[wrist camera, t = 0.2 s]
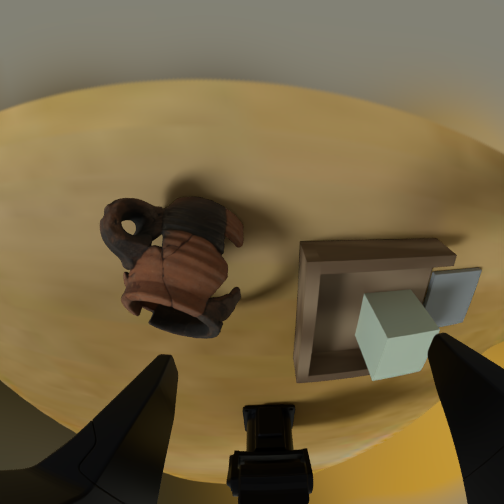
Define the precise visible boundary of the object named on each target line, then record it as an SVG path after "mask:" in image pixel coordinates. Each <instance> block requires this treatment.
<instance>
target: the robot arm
mask: <svg viewBox="0 0 504 504" xmlns="http://www.w3.org/2000/svg"><path fill="white" fill-rule="evenodd" d="M428 360H429V363H430V367H431V370H432V374H433V378H434V382H435V385H436V389H437V392H438V395H439V398H440V401H441V404H442V407H443V409H444V413H445V416H446V418H447V422H448V425H449V428H450V432H451V435H452V438H453V442H454V445H455V449H456V453H457V456H458V460H459V464H460V468H461V473H462V477H463V482H464V487H465V492H466V497H467V503H468V504H504V369H503V368H501V367H500V366H498V365H497V364H495V363H494V362H492V361H490V360H489V359H487V358H486V357H484V356H482V355H481V354H479V353H478V352H476V351H474V350H473V349H471V348H470V347H468V346H466V345H465V344H463V343H461V342H460V341H458V340H457V339H455V338H453V337H452V336H450V335H448V334H447V333H439V334H436V335H435V336H434V337H433V340H432V342H431V344H430V347H429V349H428ZM177 383H178V371H177V368H176V365H175V362H174V359H173V357H172V355H165V354H160V355H158V356H157V357H156V358H155V359H154V360H153V361H152V362H151V363H150V364H149V365H148V366H147V367H146V368H145V369H144V370H143V371H142V372H141V373H140V374H139V375H138V376H137V377H136V378H135V379H134V380H133V381H132V382H131V383H130V384H129V385H128V386H126V387H125V388H124V389H123V390H122V391H121V392H120V393H119V394H118V395H117V396H116V397H115V398H114V399H113V400H112V401H111V402H110V403H109V404H108V405H107V406H106V407H105V408H104V409H103V410H102V411H101V412H100V413H99V414H98V415H97V416H96V417H95V418H94V419H93V421H90V422H89V423H88V424H87V425H86V426H85V427H84V428H83V429H82V430H81V431H80V432H79V433H77V434H76V435H75V436H74V437H73V438H72V439H70V440H69V441H68V442H67V443H65V444H64V445H63V446H61V447H60V448H59V449H57V450H56V451H55V452H54V453H52V454H51V455H49V456H48V457H47V458H45V459H44V460H43V461H41V462H40V463H38V464H37V465H34V466H32V467H29V468H25V469H16V470H2V471H0V504H157V500H158V495H159V489H160V484H161V478H162V474H163V468H164V463H165V458H166V454H167V449H168V444H169V439H170V434H171V430H172V425H173V420H174V414H175V403H176V393H177ZM294 413H295V406H294V405H277V406H246V407H243V417H244V425H245V431H247V451H234V454H233V455H230V458H229V470H228V476H227V485H228V486H229V487H230V488H231V491H232V494H233V496H238V504H308V503H309V494H310V493H312V490H313V473H312V468H311V464H310V459H309V455H308V450H307V448H305V449H301V450H293V439H292V427H293V420H294Z"/></svg>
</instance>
